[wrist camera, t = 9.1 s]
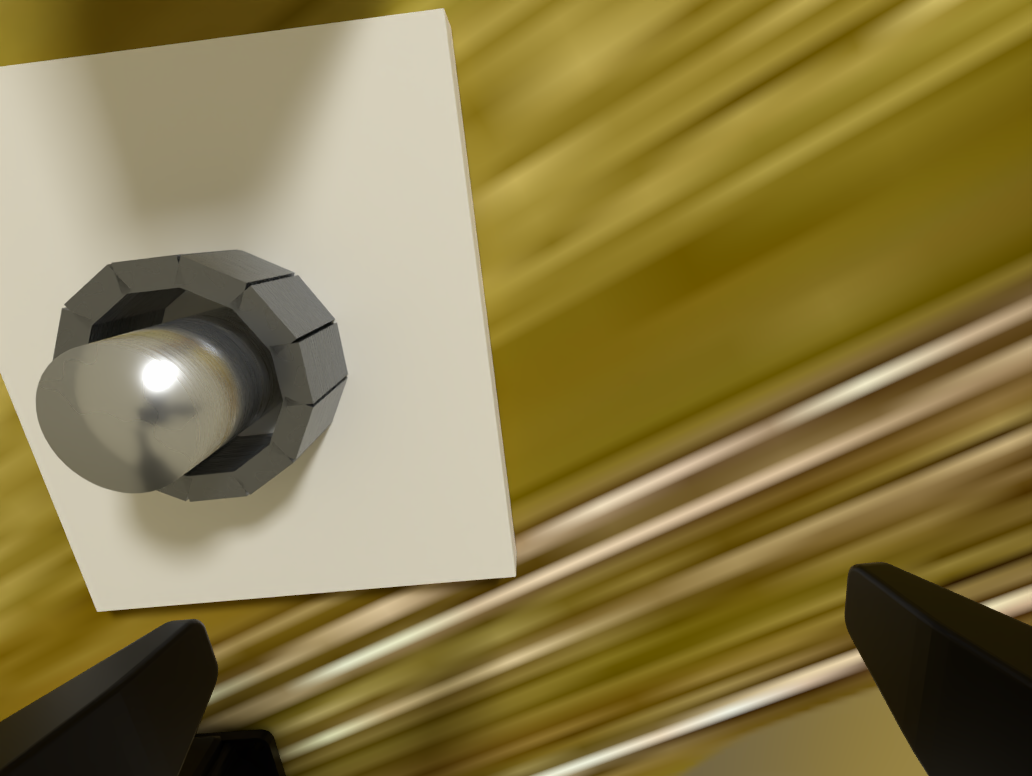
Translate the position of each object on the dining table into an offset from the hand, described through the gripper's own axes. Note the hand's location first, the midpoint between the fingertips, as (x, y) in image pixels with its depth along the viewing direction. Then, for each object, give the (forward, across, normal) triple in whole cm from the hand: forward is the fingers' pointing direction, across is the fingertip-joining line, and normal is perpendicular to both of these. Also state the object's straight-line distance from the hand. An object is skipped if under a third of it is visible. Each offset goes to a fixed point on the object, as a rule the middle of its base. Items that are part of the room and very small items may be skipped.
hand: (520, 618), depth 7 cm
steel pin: (+10, +9, -2) cm, 14 cm away
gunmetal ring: (+10, +9, -2) cm, 14 cm away
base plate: (+12, +9, -2) cm, 15 cm away
